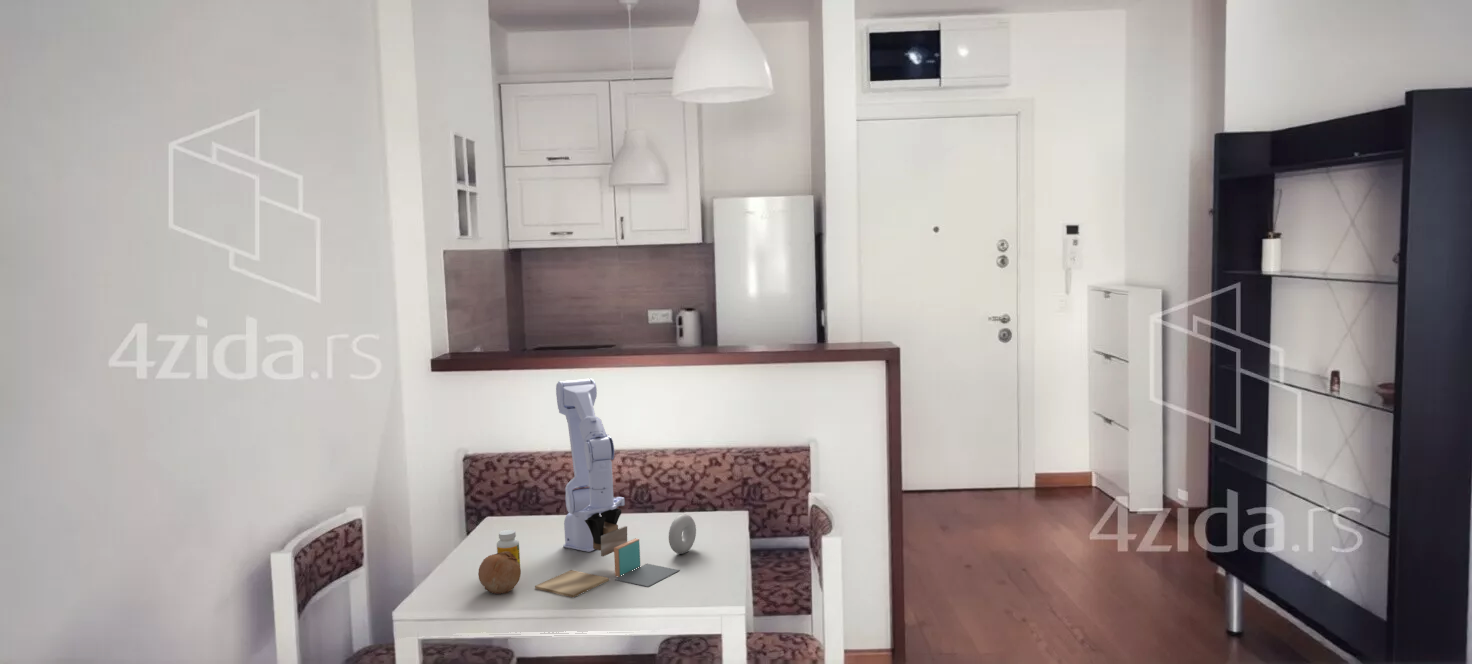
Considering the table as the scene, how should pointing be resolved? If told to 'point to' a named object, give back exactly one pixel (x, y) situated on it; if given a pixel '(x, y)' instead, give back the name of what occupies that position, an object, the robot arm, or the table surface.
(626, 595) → the table surface
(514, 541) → the supplement bottle
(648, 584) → the slate mat
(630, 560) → the tile
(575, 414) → the robot arm
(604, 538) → the brown grey t-shaped block
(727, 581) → the table surface
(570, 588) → the oak board
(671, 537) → the donut
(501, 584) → the onion
